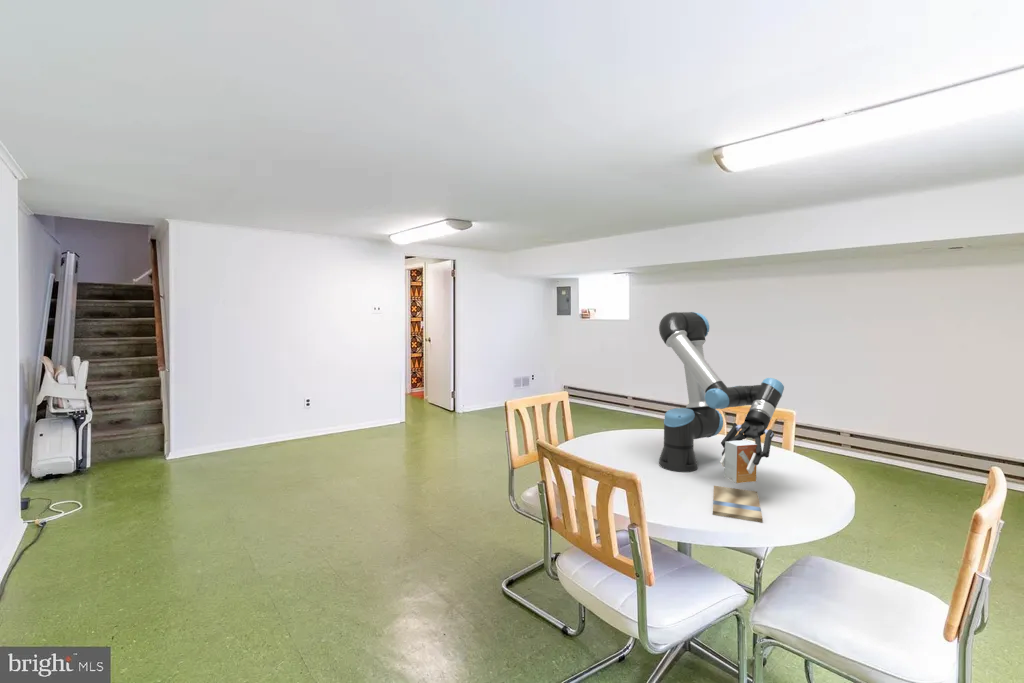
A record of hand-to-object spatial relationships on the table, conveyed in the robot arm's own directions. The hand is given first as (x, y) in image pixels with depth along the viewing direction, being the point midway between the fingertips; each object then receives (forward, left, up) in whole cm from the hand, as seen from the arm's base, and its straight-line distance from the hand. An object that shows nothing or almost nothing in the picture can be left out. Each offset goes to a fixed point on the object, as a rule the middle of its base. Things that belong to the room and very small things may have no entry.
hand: (735, 467), depth 162 cm
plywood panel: (0, -5, -11) cm, 12 cm away
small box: (+2, +3, -5) cm, 6 cm away
